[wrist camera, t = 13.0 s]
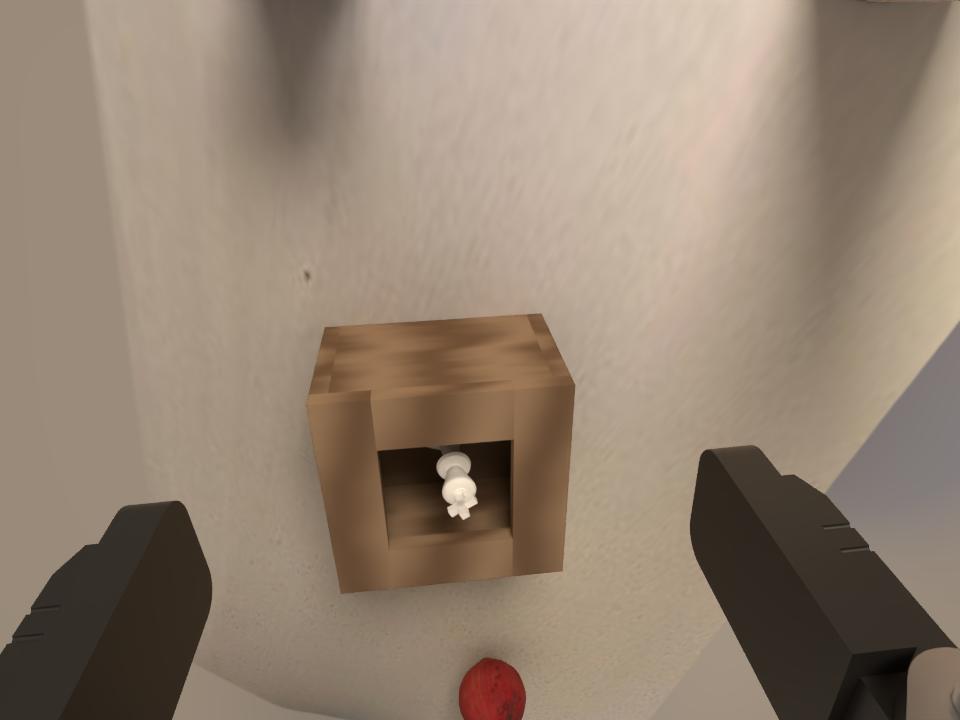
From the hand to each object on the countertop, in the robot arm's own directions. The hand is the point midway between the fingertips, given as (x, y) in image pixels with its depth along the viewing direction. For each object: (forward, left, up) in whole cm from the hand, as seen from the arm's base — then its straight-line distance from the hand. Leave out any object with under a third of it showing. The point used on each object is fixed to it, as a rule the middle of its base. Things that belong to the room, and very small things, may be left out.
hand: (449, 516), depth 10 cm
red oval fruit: (-4, +45, -29) cm, 54 cm away
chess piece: (-1, +17, -28) cm, 33 cm away
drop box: (-1, +17, -29) cm, 34 cm away
